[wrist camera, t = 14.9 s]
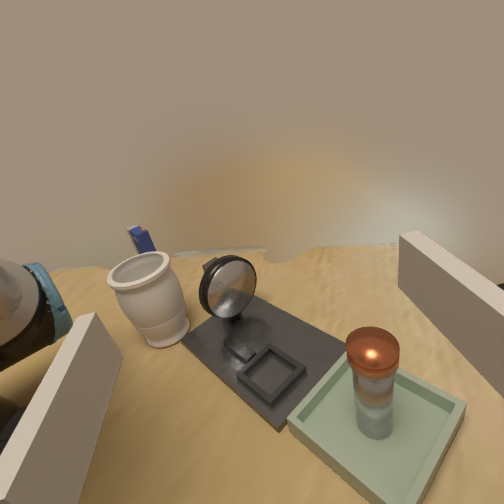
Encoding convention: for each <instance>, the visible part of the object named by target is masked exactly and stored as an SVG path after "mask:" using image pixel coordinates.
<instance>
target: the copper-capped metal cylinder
mask: <svg viewBox="0 0 504 504" xmlns="http://www.w3.org/2000/svg"><path fill="white" fill-rule="evenodd" d="M399 351H400V348H399V343H398V341H397V339H396V338H395V337H394V336H393V335H392V334H391V333H389V332H388V331H386V330H384V329H381V328H377V327H362V328H358V329H356V330H354V331H353V332H351V333H350V334H349V335H348V337H347V339H346V353H347V361H348V364H349V366H350V368H351V369H352V375H353V388H354V400H355V412H356V423H357V426H358V428H359V430H360V431H361V432H362V433H363V434H364V435H365V436H366V437H368V438H370V439H373V440H383V439H386V438H387V437H389V436H390V434H391V433H392V430H393V407H394V374H395V373H396V371H397V370H398V367H399Z"/></svg>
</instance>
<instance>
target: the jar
mask: <svg viewBox="0 0 504 504" xmlns="http://www.w3.org/2000/svg"><path fill="white" fill-rule="evenodd" d="M107 282H108V285H109V286H110V287H111V288H112V289H114V290H115V293H116V297H117V300H118V302H119V305H120V307H121V309H122V311H123V312H124V314H125V315H126V317H127V318H128V319H129V320H130V321H131V322H132V323H133V325H134V326H135V327H136V329H137V330H138V331H139V332H140V333H142V334H143V335H144V336H146V341H147V343H148V344H149V345H150V346H152V347H156V348H162V347H167V346H170V345H173V344H175V343H176V342H178V341H179V340H180V339H182V338H183V337H184V336H185V335H186V334H187V332H188V330H189V327H190V322H189V319H188V318H187V317H186V306H185V302H184V296H183V292H182V288H181V285H180V283H179V280H178V278H177V276H176V275H175V273H174V271H173V270H172V269H171V267H170V259H169V256H168V255H167V254H166V253H164V252H158V251H155V252H147V253H143V254H139V255H136V256H134V257H131V258H129V259H127V260H125V261H123V262H122V263H120V264H119V265H117V266H116V267H115V268H114V269H113V270H112V271H111V272H110V273H109V275H108V277H107Z"/></svg>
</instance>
